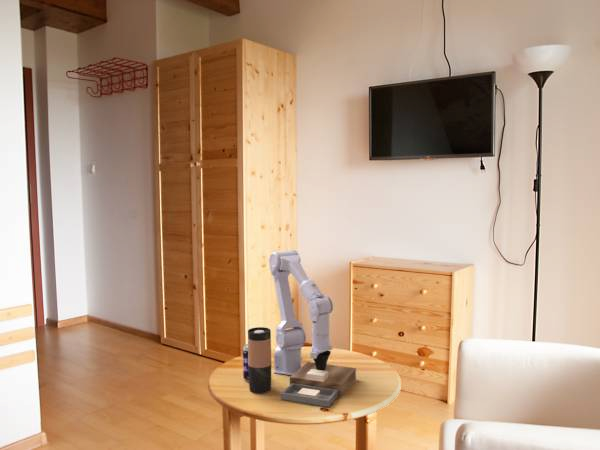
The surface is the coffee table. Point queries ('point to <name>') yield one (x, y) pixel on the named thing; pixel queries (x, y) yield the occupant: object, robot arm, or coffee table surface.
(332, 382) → the brown wooden block
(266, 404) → the coffee table surface
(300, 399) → the box
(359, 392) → the coffee table surface
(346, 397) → the coffee table surface
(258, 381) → the travel mug
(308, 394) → the tile front
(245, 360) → the beverage can
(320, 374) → the tile back
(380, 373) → the coffee table surface
